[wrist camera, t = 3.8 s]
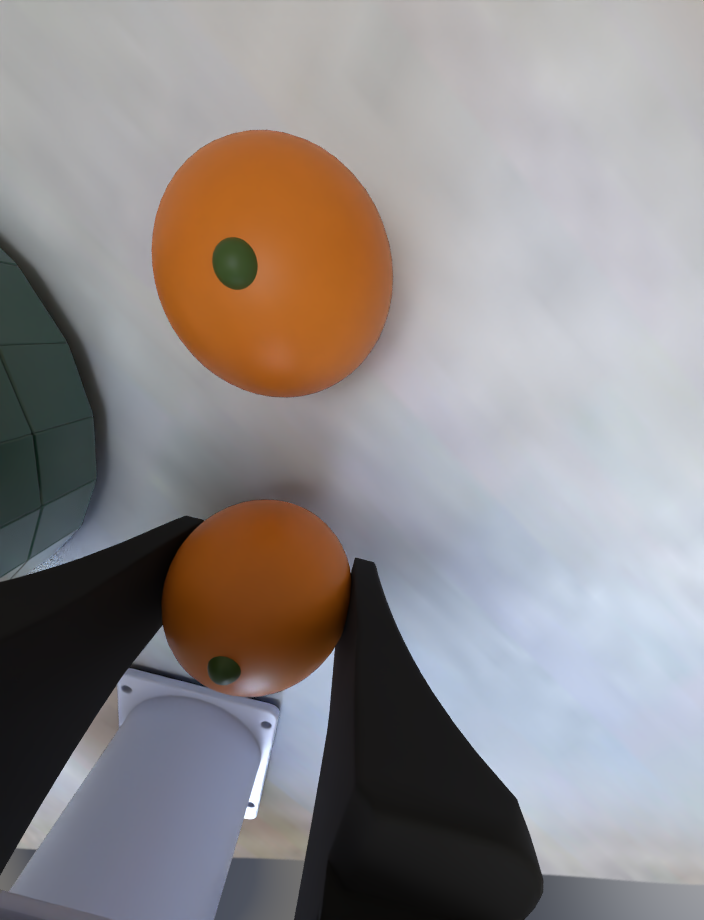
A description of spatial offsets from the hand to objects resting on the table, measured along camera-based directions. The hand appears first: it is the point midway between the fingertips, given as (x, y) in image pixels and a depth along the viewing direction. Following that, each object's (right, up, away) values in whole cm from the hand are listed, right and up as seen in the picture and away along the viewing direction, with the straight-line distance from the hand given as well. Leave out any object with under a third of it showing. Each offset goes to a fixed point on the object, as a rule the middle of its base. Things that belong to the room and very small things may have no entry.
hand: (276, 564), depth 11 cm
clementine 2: (0, 0, +1) cm, 1 cm away
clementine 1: (+1, +8, -1) cm, 8 cm away
